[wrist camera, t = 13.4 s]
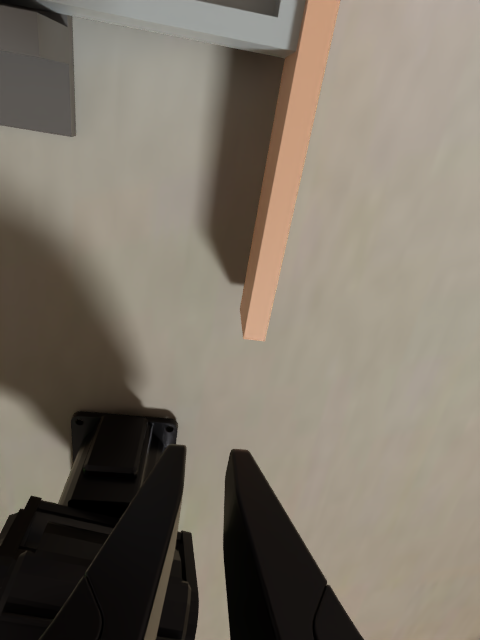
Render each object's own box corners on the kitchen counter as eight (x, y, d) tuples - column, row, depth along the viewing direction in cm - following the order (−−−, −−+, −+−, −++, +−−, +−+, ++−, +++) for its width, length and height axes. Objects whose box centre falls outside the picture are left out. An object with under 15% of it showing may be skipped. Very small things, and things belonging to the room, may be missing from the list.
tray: (258, 310, 21) (264, 341, 18) (7, 280, 20) (-27, 309, 17) (414, -455, 10) (484, -647, 8) (-110, -652, 9) (-252, -977, 6)
